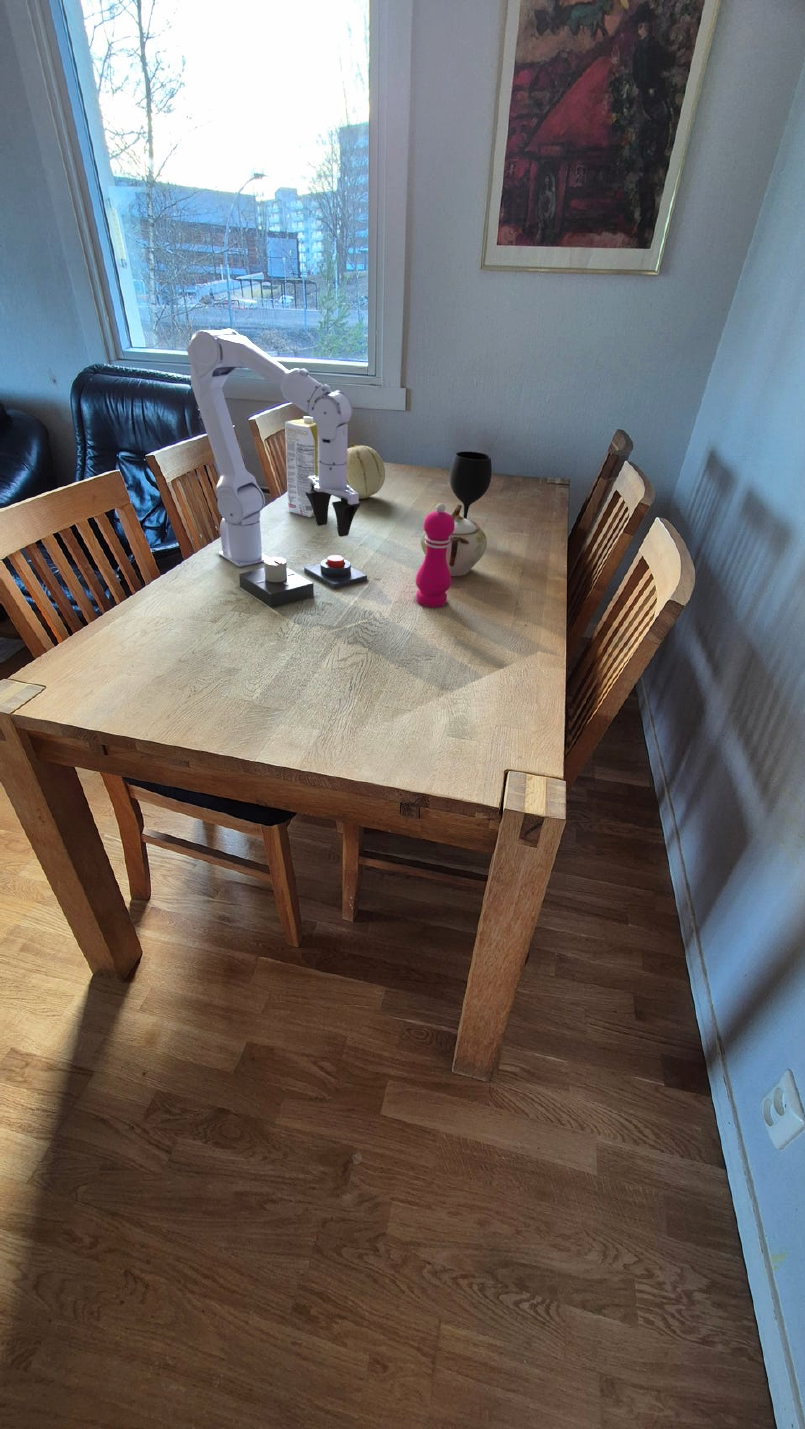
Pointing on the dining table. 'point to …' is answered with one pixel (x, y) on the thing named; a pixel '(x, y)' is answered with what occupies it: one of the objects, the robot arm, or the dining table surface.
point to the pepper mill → (435, 559)
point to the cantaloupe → (364, 470)
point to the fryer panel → (276, 587)
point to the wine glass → (470, 477)
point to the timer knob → (275, 569)
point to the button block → (335, 574)
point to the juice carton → (300, 463)
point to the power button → (335, 561)
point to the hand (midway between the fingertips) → (332, 530)
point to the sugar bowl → (462, 545)
